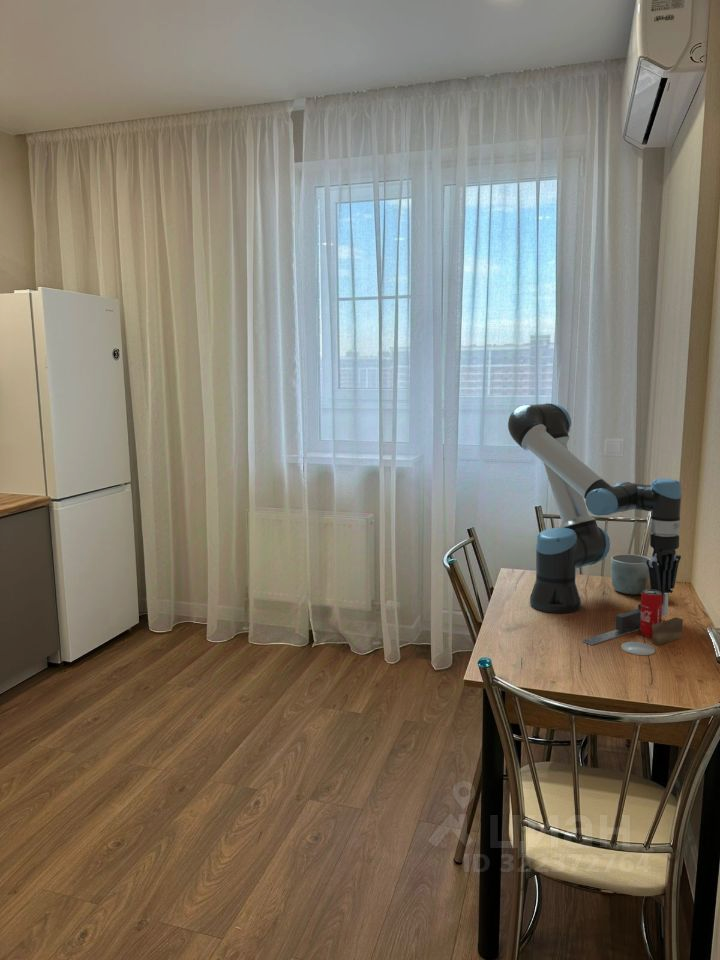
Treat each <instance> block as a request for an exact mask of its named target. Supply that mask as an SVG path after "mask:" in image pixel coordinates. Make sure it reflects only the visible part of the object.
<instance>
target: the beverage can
mask: <svg viewBox="0 0 720 960" xmlns="http://www.w3.org/2000/svg"><path fill="white" fill-rule="evenodd" d="M640 595H641V597H640V604H641V619H640V633H641V635H642V636H644V637H646V638H651V639H652V634H653V625H654V624H657V623H660V622H662V618H663V617H662V616H663V615H662V593H661V592H660V591H658V590H653V589H645V590H643V592H642V594H640Z"/></svg>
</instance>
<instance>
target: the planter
mask: <svg viewBox="0 0 720 960" xmlns="http://www.w3.org/2000/svg"><path fill="white" fill-rule="evenodd" d="M651 559H652V558H649V557H647V556H644V555H639V554H632V553H631V554H630V553H629V554H624V553H622V554H621V553H620V554H614V555H612V556H611V557H610V575H611V576H610V577H611V578H610V579H611V584H612V585H611V586H612V588H613V589H614V590H615V591H616V592H618V593H621V594H624V595H633V596H634V595H641V594H642V592H643V590H645V584H646V581H647V579H648V578H649V569H648V566H647V563H646V561H647V560H651Z"/></svg>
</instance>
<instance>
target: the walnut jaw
mask: <svg viewBox="0 0 720 960" xmlns="http://www.w3.org/2000/svg"><path fill="white" fill-rule="evenodd" d="M683 625H684V619H683V618H680V617H673V618H669V619H666V620H664V621H661V622H660V623H657V624H654V625H653V634H652V638H651V639H652V643H651V644H653V645H657V646H663V645H664V644H667V643H670V642H672V641H676V640H678V639H682V638H683V628H684V627H683Z"/></svg>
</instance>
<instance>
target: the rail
mask: <svg viewBox="0 0 720 960" xmlns="http://www.w3.org/2000/svg"><path fill="white" fill-rule="evenodd" d="M639 630H640V626H638V627H635V628H632V629H629V630H626V631H623V632H621V631H618V630H616V629H614V630H610V631H607V632H604V633H600V634H598V635H595V636H592V637H589V638H584V639H583V640H581V642H582V643H584V642H585V644H587V643H588V644H587V645H590V644H591V645H590V646H594V645H597V644H601V643H603V642H606V641H609V640H612V639H615V638H619V637H621V636H625V635H627V634H631V633H633V632H637V631H639ZM596 643H597V644H596ZM593 644H594V645H593Z"/></svg>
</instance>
